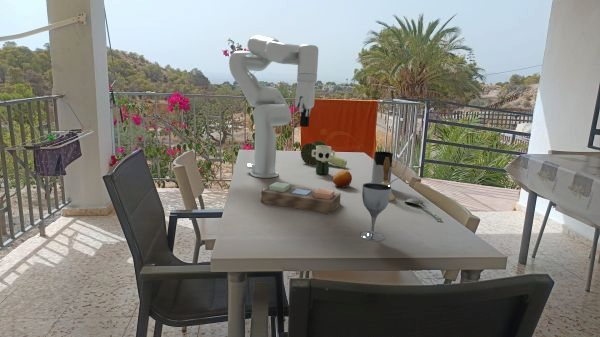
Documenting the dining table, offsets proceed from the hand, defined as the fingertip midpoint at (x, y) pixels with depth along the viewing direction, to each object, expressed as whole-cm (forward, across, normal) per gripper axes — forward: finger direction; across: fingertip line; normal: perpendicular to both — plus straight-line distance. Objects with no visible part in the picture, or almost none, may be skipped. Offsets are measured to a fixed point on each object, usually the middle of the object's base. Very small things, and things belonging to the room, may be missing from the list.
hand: (304, 126), depth 157 cm
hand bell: (+25, -4, +33) cm, 42 cm away
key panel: (+25, +19, +7) cm, 32 cm away
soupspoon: (+26, +5, +48) cm, 55 cm away
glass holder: (+25, -18, +32) cm, 45 cm away
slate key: (+24, +19, +7) cm, 31 cm away
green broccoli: (+26, -50, -6) cm, 56 cm away
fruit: (+25, -12, +14) cm, 31 cm away
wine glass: (+25, +38, +36) cm, 58 cm away
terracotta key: (+22, +19, +15) cm, 33 cm away
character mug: (+25, -29, 0) cm, 38 cm away
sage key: (+22, +19, -1) cm, 29 cm away
